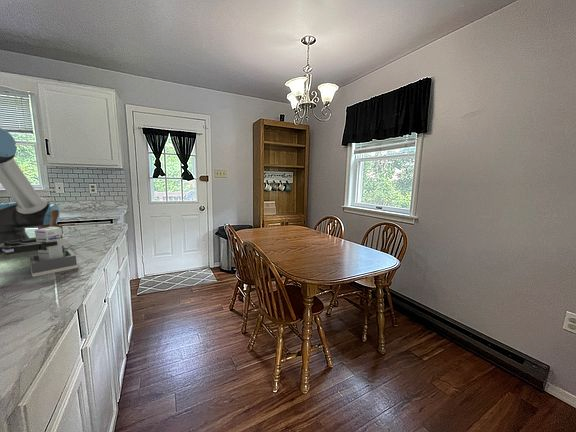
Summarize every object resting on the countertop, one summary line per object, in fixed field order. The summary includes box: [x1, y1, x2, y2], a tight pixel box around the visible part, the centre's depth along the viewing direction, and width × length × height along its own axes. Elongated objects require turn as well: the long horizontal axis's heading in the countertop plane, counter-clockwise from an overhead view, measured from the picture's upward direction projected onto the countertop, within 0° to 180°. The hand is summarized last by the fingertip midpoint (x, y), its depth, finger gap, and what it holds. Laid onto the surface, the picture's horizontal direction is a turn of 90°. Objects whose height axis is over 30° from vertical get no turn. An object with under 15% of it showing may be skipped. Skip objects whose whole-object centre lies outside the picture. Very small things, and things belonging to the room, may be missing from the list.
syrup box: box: [34, 227, 66, 261], centre depth 102 cm, size 6×6×14 cm
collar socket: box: [28, 248, 79, 278], centre depth 103 cm, size 13×13×5 cm
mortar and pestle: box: [37, 210, 64, 235], centre depth 125 cm, size 12×9×20 cm
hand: (66, 239), depth 105 cm, fingers closed on syrup box, 7 cm apart
